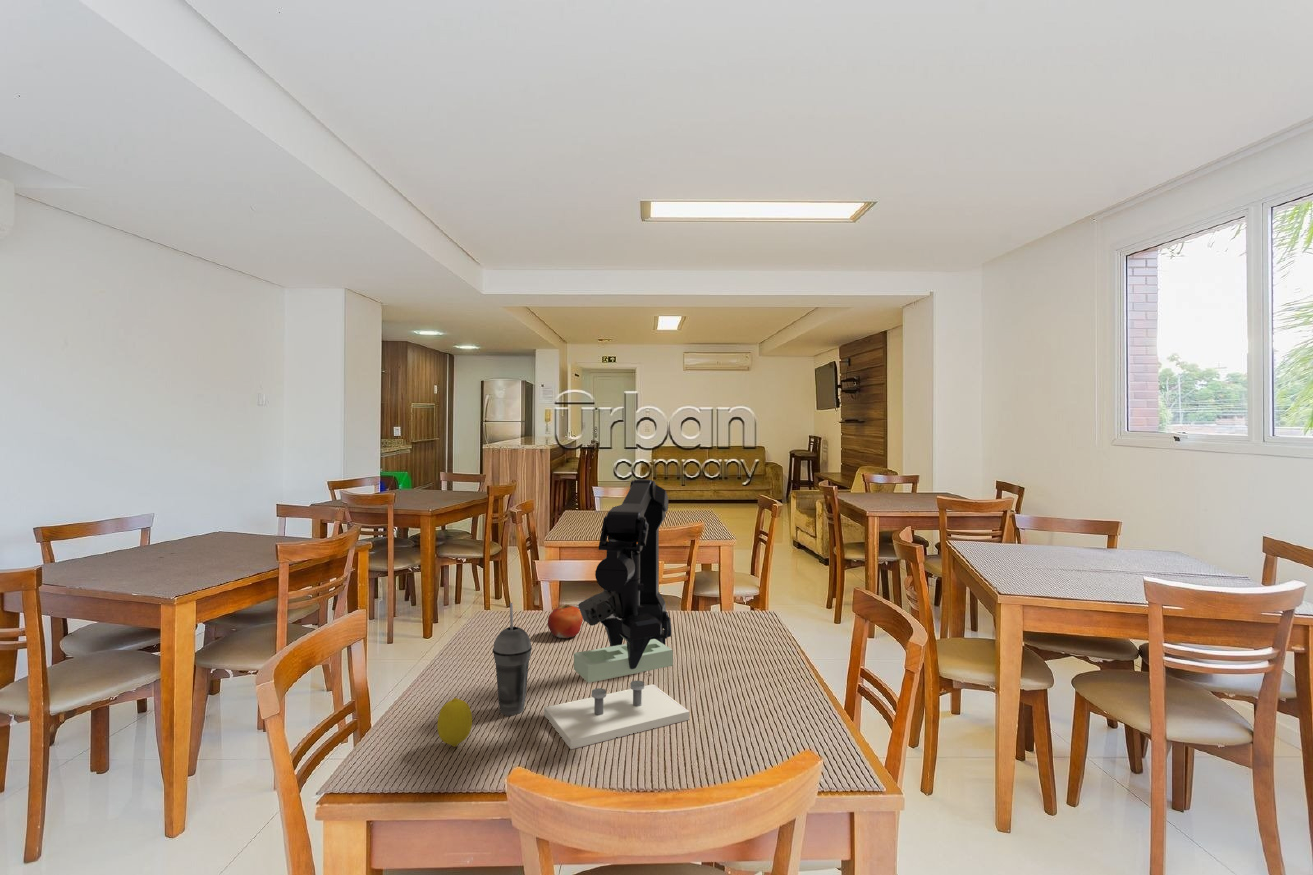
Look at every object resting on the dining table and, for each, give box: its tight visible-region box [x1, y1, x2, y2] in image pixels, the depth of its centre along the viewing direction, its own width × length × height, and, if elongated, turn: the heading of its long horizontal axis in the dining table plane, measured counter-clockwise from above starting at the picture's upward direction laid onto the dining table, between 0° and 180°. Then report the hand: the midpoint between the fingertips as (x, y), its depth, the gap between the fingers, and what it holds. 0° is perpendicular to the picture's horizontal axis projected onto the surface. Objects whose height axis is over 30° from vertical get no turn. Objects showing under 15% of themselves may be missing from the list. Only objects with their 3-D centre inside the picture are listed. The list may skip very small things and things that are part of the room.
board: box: [543, 680, 690, 750], centre depth 111 cm, size 23×14×6 cm, turn 119°
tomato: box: [547, 604, 584, 639], centre depth 158 cm, size 9×9×8 cm
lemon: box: [436, 697, 473, 748], centre depth 100 cm, size 6×6×8 cm
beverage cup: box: [492, 602, 533, 716], centre depth 114 cm, size 7×7×20 cm
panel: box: [573, 639, 674, 684], centre depth 112 cm, size 17×7×3 cm, turn 119°
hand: (624, 662), depth 112 cm, fingers closed on panel, 7 cm apart
